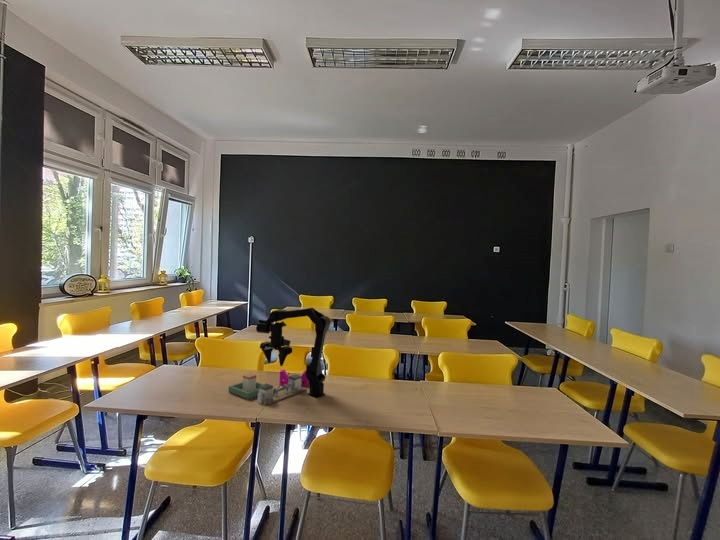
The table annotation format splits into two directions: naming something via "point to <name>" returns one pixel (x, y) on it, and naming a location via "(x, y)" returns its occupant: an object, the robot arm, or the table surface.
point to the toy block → (286, 378)
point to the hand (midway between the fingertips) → (275, 364)
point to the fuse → (249, 382)
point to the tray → (238, 390)
